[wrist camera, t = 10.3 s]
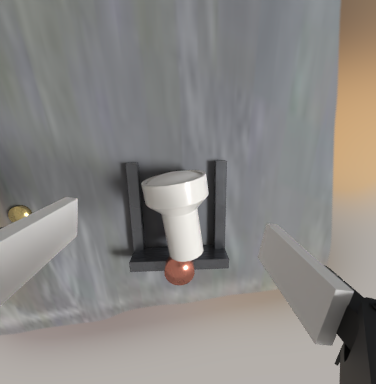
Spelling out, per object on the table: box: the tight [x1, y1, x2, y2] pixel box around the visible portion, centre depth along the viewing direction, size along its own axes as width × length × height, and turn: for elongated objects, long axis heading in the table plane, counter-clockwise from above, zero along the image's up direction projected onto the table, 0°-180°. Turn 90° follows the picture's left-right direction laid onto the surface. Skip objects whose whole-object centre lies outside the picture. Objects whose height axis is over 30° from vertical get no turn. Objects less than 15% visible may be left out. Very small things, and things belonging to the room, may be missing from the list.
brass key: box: [8, 205, 32, 222], centre depth 30 cm, size 7×3×1 cm, turn 26°
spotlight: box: [141, 170, 209, 262], centre depth 27 cm, size 8×11×8 cm
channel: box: [126, 160, 229, 285], centre depth 28 cm, size 16×14×6 cm
